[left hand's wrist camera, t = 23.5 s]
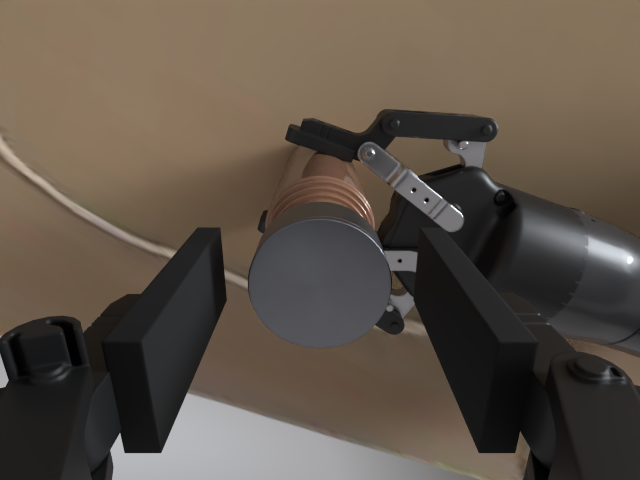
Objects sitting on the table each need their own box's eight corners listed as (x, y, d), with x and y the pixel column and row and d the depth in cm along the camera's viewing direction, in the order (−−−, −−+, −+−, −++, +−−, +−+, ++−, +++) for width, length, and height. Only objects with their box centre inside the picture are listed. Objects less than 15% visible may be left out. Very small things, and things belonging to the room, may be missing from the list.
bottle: (273, 173, 30) (218, 280, 14) (317, 123, 28) (314, 175, 12) (322, 215, 31) (324, 361, 15) (366, 168, 30) (422, 272, 13)
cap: (232, 238, 14) (219, 260, 12) (347, 177, 13) (351, 192, 12) (296, 335, 16) (293, 368, 14) (403, 284, 15) (415, 313, 13)
